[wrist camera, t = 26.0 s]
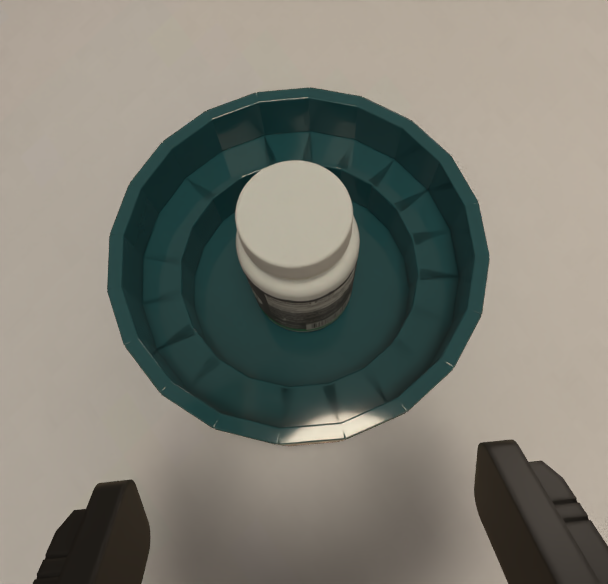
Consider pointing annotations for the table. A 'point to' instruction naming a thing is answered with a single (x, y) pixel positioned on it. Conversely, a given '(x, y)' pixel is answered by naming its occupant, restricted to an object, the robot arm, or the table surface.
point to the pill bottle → (297, 243)
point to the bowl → (238, 293)
